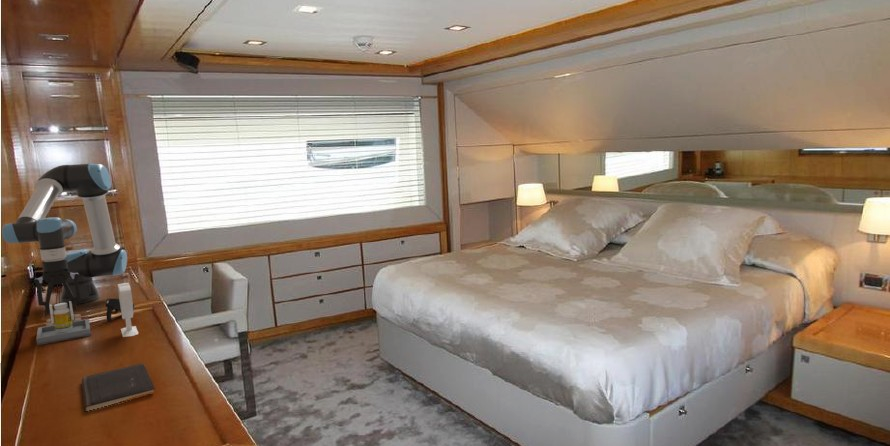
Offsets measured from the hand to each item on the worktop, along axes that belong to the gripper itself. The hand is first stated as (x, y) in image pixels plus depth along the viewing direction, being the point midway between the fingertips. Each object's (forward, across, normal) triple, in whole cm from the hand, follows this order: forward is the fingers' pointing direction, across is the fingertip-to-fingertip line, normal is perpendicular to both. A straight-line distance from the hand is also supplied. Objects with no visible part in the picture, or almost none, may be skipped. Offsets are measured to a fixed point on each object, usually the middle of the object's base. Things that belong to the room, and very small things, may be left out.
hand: (62, 320), depth 200 cm
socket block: (+6, 0, +14) cm, 15 cm away
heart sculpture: (+6, +20, -13) cm, 25 cm away
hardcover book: (+6, +12, -70) cm, 71 cm away
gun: (+6, +19, +12) cm, 24 cm away
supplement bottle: (+3, 0, 0) cm, 3 cm away
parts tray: (+5, 0, 0) cm, 5 cm away
